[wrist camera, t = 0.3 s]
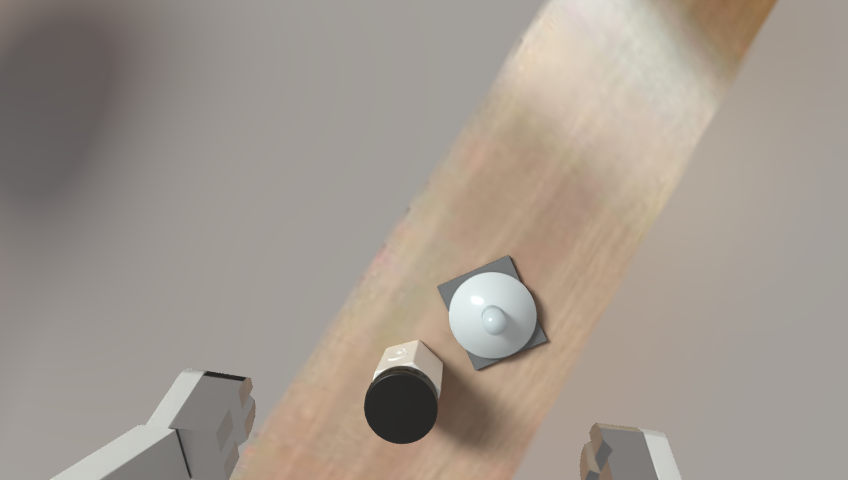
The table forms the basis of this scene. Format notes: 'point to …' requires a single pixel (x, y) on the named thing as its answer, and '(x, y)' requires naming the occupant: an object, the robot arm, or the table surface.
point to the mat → (497, 266)
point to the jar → (404, 393)
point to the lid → (492, 315)
